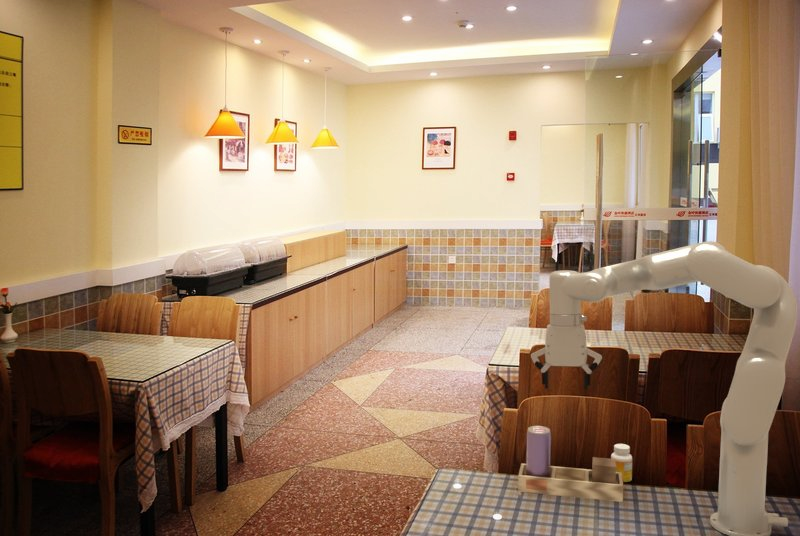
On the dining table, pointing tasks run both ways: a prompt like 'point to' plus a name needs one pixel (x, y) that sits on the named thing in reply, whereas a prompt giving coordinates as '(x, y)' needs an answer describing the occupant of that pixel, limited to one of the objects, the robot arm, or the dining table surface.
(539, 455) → the beverage can
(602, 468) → the walnut block
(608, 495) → the rack
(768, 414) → the robot arm
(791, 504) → the dining table surface
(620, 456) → the supplement bottle
